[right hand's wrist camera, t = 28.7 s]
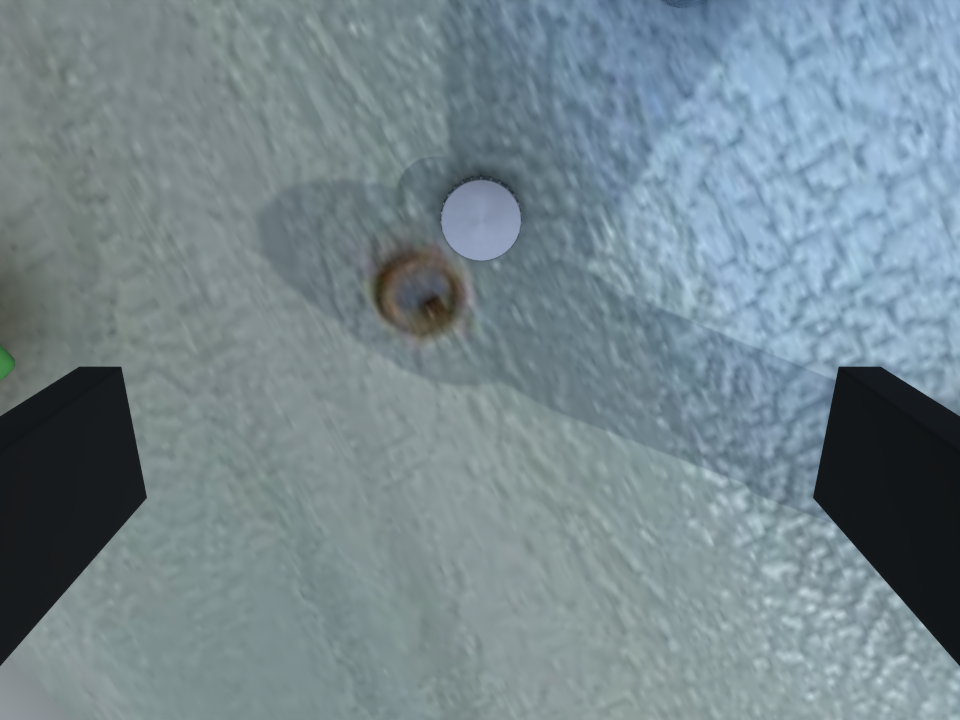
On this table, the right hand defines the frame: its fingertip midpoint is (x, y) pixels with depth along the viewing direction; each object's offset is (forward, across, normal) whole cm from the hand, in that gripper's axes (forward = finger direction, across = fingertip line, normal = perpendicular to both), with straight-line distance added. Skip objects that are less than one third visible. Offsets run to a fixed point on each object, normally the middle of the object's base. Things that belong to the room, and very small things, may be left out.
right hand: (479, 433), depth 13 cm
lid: (+29, 0, 0) cm, 29 cm away
